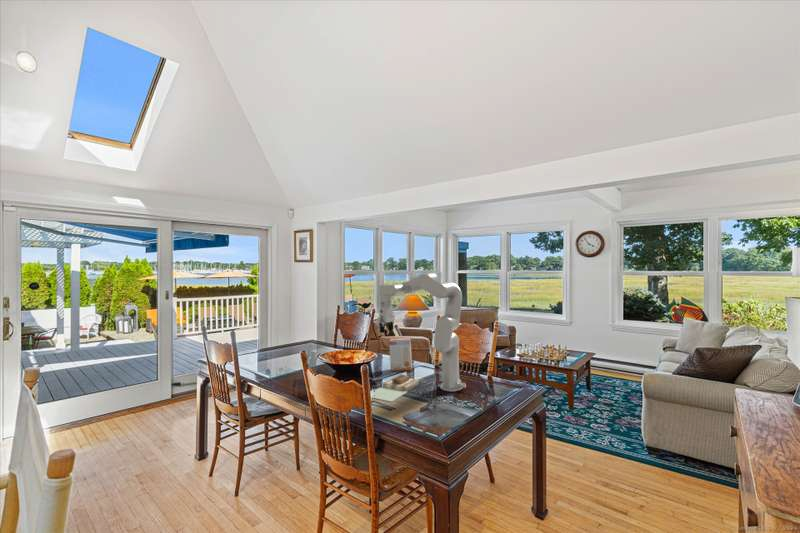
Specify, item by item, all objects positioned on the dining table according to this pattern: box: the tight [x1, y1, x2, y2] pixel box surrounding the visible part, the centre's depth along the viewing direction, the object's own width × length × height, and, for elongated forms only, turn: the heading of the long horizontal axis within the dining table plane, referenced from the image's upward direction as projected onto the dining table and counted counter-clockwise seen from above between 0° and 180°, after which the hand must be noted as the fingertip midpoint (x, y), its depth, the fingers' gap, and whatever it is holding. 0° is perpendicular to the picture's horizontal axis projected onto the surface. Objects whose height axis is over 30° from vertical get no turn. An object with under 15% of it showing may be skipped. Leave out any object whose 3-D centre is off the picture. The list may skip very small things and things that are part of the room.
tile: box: [391, 374, 410, 384], centre depth 221 cm, size 6×9×2 cm, turn 147°
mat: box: [371, 386, 408, 403], centre depth 208 cm, size 18×16×1 cm
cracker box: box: [388, 337, 413, 372], centre depth 253 cm, size 14×6×21 cm, turn 84°
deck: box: [382, 375, 420, 392], centre depth 221 cm, size 16×14×2 cm
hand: (386, 331), depth 236 cm, fingers open, 9 cm apart
